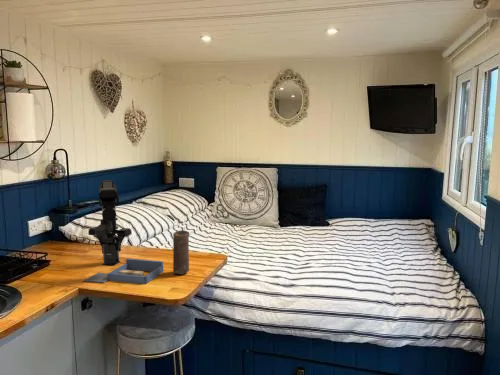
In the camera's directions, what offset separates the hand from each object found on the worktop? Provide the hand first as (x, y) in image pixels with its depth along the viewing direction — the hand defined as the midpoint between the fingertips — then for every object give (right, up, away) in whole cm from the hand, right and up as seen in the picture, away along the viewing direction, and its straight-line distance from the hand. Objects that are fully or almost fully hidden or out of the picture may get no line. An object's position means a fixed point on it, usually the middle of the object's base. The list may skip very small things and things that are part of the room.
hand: (110, 250), depth 174 cm
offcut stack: (+9, -13, -1) cm, 16 cm away
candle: (+31, -12, +7) cm, 34 cm away
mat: (-5, -13, 0) cm, 14 cm away
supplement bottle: (0, -6, +1) cm, 6 cm away
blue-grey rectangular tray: (+11, -12, +4) cm, 17 cm away
